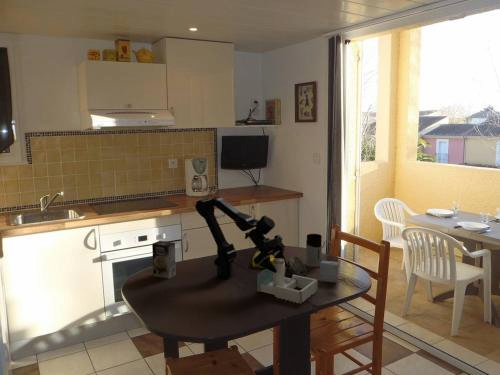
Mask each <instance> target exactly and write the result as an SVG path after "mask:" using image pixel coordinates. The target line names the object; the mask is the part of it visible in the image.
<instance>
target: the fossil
mask: <svg viewBox="0 0 500 375" xmlns="http://www.w3.org/2000/svg"><path fill="white" fill-rule="evenodd" d="M286 263H287V266H286V267H285V276H289V275H291V276H292V275H298V276H302V277H305V275H306V274H307V272H308V270H307V265H306V264H305V263H304V262H303V260H301V259H300V258H299V256H295V255H294V256H292V257H290V258H289V259H288V261H287V262H286Z"/></svg>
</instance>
